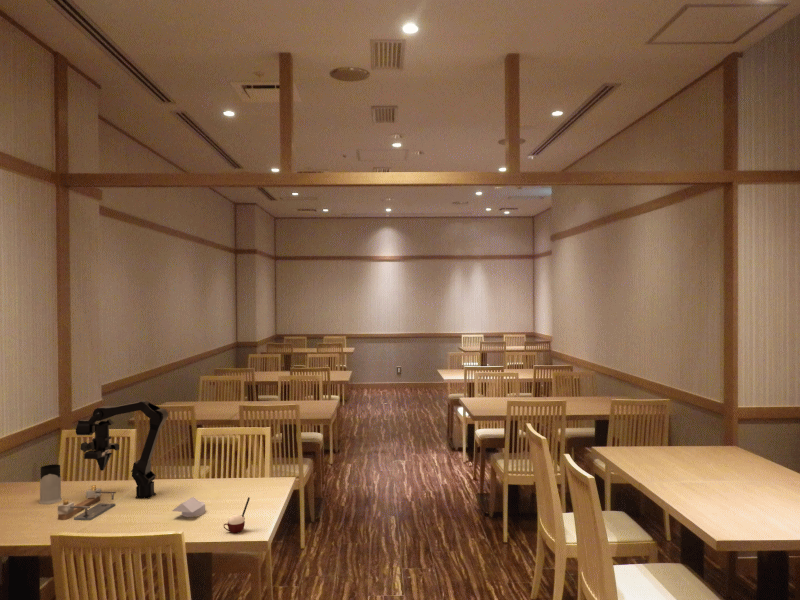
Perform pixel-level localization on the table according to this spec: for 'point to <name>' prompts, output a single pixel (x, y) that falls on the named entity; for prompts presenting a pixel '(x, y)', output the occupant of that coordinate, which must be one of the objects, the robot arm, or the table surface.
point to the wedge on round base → (191, 508)
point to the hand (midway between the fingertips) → (102, 470)
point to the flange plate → (95, 511)
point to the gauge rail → (74, 508)
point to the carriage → (97, 492)
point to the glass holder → (50, 484)
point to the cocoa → (236, 521)
